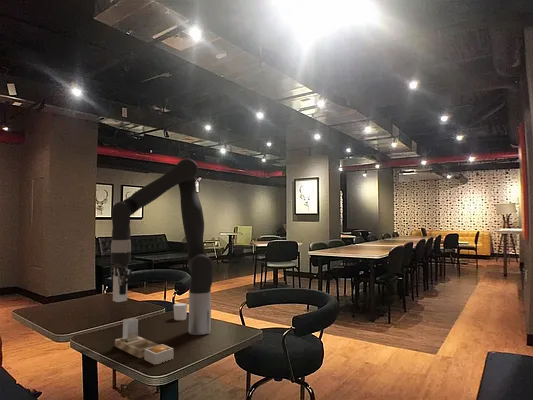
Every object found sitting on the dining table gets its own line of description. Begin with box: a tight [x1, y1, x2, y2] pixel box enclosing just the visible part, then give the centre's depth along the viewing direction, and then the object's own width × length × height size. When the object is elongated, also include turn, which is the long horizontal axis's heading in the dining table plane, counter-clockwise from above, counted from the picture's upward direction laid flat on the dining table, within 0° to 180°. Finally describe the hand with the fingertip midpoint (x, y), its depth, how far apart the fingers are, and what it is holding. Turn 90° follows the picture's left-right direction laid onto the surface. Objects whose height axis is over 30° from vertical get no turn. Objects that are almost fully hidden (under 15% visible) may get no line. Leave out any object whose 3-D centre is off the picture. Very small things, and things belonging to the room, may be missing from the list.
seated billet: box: [122, 317, 139, 343], centre depth 135 cm, size 4×4×10 cm
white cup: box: [172, 302, 188, 321], centre depth 173 cm, size 7×7×7 cm
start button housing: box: [143, 343, 175, 366], centre depth 122 cm, size 7×7×4 cm
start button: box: [152, 344, 167, 353], centre depth 122 cm, size 5×5×2 cm
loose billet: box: [112, 275, 128, 303], centre depth 142 cm, size 4×4×10 cm
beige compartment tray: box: [114, 335, 160, 359], centre depth 131 cm, size 18×8×2 cm, turn 49°
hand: (120, 293), depth 142 cm, fingers closed on loose billet, 4 cm apart
